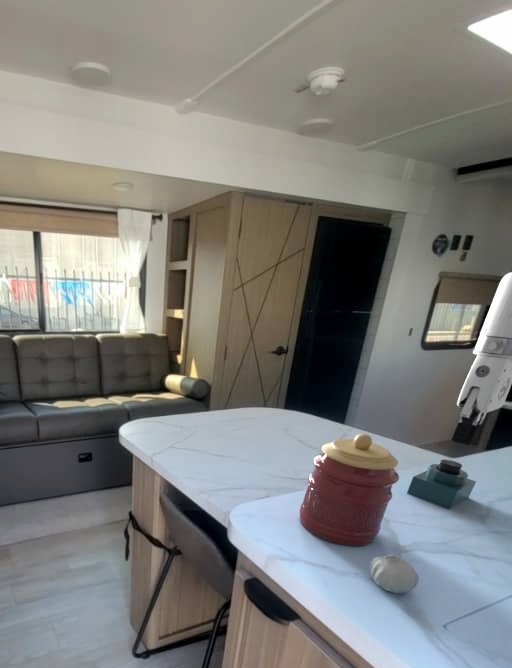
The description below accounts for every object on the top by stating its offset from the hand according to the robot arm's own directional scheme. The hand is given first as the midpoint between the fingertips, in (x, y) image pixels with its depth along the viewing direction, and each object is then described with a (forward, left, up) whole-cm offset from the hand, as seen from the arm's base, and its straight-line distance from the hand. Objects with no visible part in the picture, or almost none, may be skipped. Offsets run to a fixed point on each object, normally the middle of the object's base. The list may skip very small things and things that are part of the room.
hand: (462, 442), depth 81 cm
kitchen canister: (+28, +16, -12) cm, 35 cm away
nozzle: (0, 0, -7) cm, 7 cm away
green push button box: (0, 0, -12) cm, 12 cm away
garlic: (+27, +32, -12) cm, 44 cm away
